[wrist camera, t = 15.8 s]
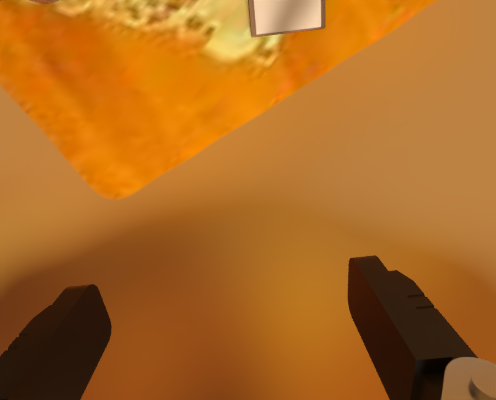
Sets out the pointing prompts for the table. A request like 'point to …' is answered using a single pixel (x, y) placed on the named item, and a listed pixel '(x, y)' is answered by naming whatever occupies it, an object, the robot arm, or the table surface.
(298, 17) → the board
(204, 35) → the table surface
